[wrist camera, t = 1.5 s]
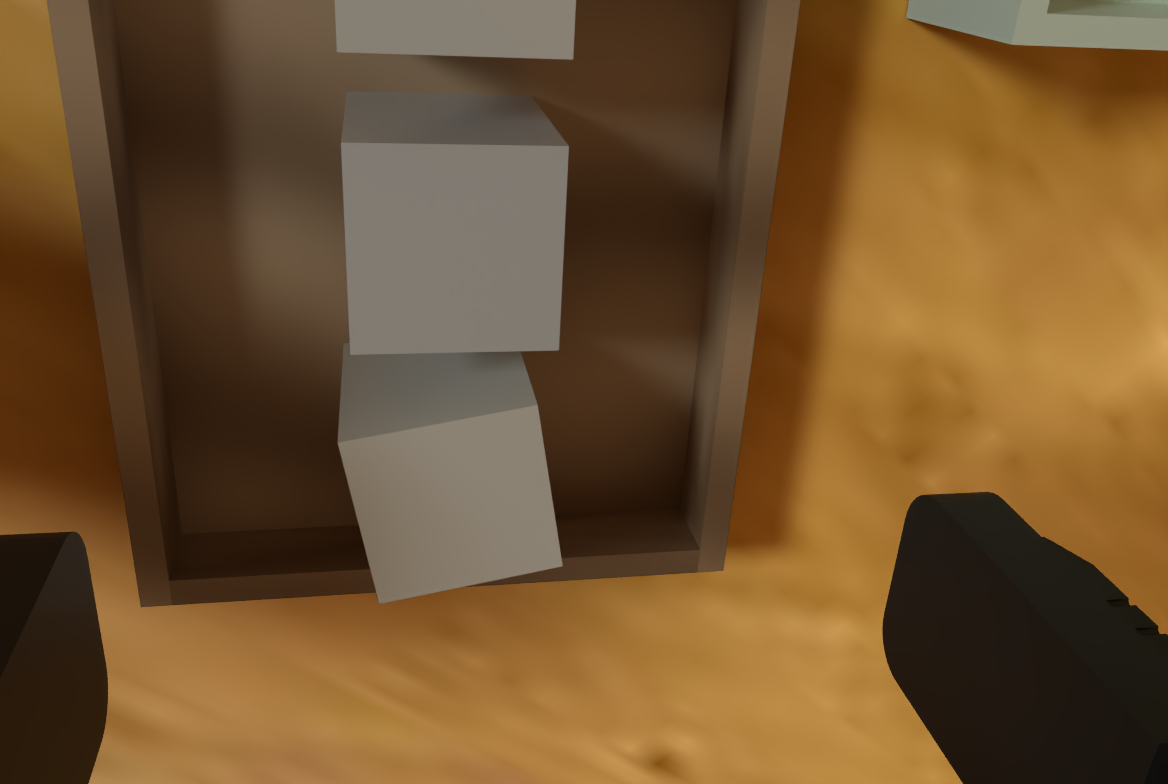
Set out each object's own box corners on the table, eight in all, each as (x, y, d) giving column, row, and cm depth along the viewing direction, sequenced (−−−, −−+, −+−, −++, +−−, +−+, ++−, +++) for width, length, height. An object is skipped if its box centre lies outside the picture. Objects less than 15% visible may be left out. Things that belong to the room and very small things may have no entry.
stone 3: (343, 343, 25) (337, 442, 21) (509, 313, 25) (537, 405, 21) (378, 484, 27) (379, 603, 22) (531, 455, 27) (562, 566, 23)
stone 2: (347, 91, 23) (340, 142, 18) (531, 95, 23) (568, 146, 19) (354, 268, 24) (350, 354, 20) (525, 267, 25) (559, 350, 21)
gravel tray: (32, -362, 19) (-15, -396, 16) (791, -289, 21) (842, -309, 19) (160, 545, 27) (140, 606, 25) (696, 517, 30) (723, 570, 27)
